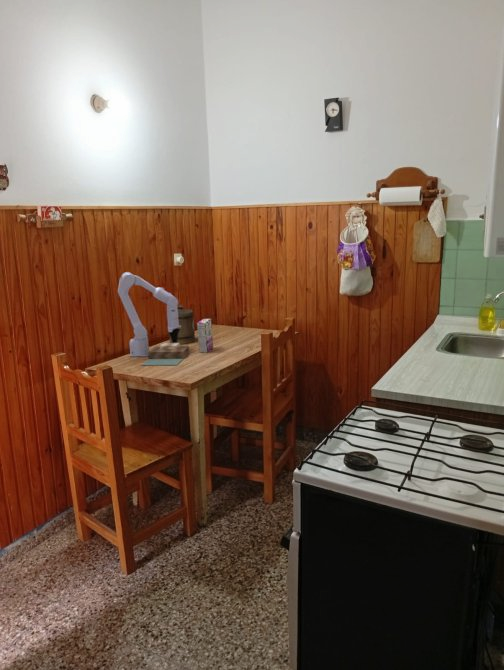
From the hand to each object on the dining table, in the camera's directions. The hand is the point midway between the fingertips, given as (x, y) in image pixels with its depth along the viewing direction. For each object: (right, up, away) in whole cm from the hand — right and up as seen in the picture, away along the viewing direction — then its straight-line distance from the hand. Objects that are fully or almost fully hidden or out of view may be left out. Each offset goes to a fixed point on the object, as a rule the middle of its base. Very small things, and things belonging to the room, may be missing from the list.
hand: (174, 342), depth 261 cm
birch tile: (-1, -3, -9) cm, 10 cm away
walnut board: (-1, -7, -10) cm, 13 cm away
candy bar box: (+17, -4, -1) cm, 18 cm away
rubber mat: (-3, -10, -22) cm, 24 cm away
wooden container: (+1, 0, +23) cm, 23 cm away
